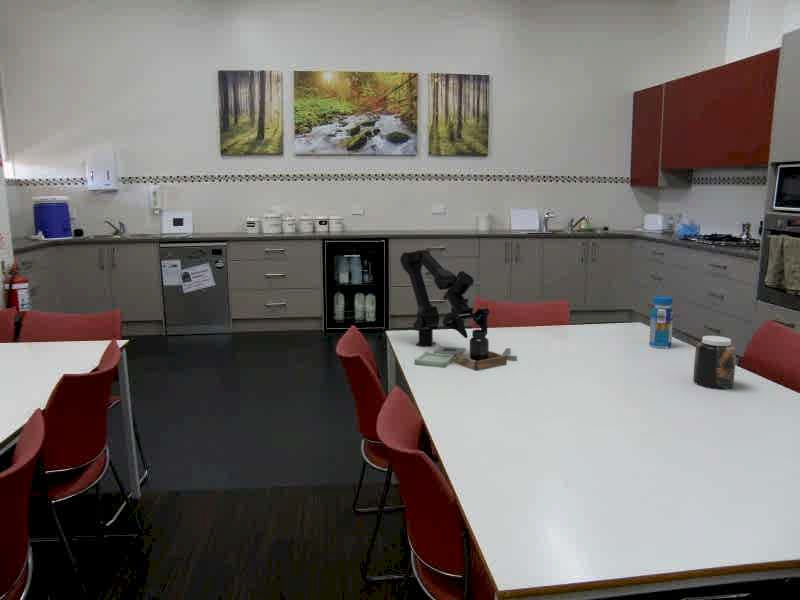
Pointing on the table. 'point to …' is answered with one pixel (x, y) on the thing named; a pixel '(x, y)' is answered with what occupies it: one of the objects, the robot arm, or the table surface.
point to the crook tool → (509, 357)
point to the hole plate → (453, 350)
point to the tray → (434, 359)
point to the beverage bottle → (661, 322)
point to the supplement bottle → (479, 346)
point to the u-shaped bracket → (482, 361)
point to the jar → (715, 362)
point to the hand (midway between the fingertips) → (476, 335)
